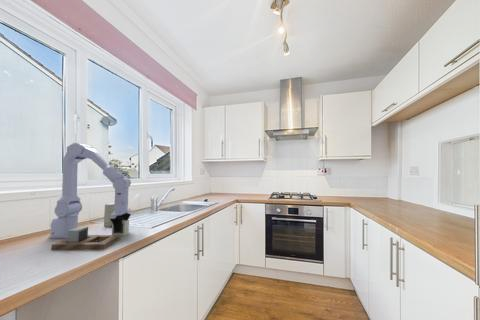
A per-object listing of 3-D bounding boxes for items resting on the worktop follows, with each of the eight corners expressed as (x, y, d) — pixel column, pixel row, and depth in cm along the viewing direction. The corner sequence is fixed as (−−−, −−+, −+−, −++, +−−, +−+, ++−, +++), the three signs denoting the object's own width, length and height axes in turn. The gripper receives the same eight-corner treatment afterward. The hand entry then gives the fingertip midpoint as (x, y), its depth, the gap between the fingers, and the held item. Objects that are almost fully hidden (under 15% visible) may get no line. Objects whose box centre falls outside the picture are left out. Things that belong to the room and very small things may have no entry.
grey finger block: (67, 246, 83) (68, 230, 83) (78, 241, 89) (79, 226, 89) (77, 246, 83) (78, 230, 83) (88, 241, 89) (88, 226, 89)
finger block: (124, 235, 97) (124, 222, 98) (111, 235, 97) (111, 222, 97) (128, 233, 101) (129, 220, 102) (116, 233, 101) (116, 220, 101)
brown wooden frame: (51, 249, 80) (51, 244, 80) (75, 239, 92) (75, 234, 92) (103, 249, 80) (104, 244, 80) (120, 239, 92) (120, 234, 92)
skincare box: (110, 227, 112) (111, 204, 113) (103, 226, 113) (104, 204, 114) (119, 224, 118) (119, 202, 119) (112, 223, 119) (113, 202, 120)
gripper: (121, 204, 93) (120, 235, 92) (136, 200, 107) (135, 226, 107) (105, 204, 93) (104, 235, 92) (122, 199, 107) (121, 226, 106)
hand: (120, 230), depth 99 cm, fingers closed on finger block, 4 cm apart
